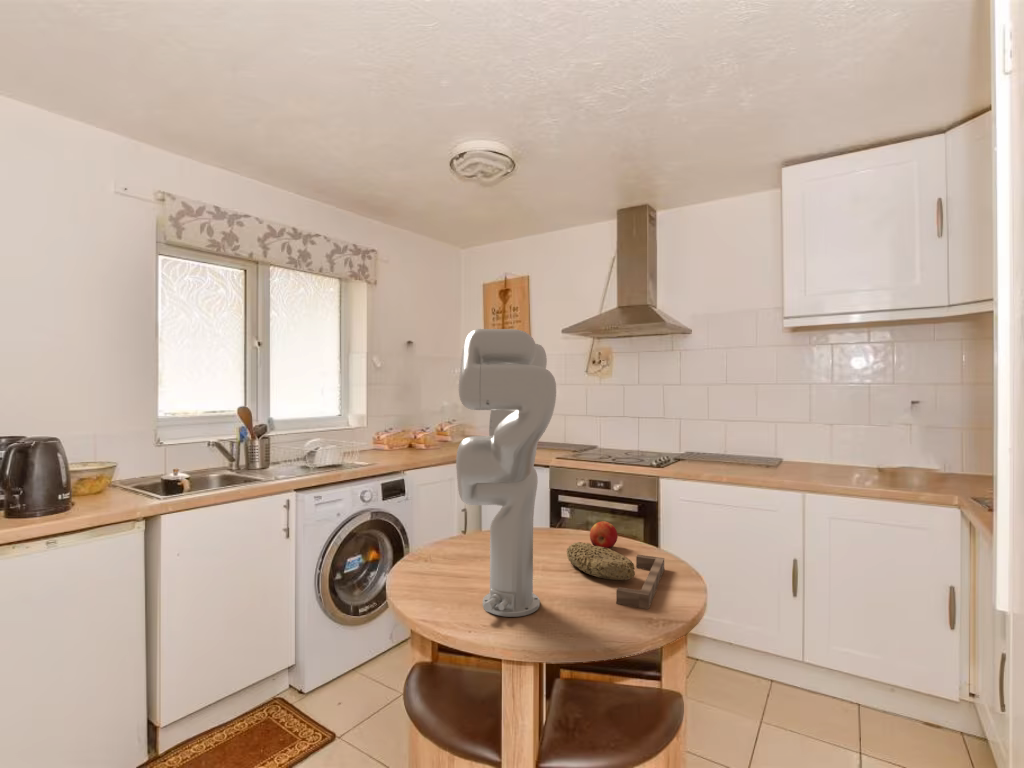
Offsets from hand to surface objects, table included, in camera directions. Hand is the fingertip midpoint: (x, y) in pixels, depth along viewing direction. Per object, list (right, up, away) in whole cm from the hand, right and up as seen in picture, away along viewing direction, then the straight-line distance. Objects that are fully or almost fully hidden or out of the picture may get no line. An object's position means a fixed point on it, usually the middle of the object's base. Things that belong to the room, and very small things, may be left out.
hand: (508, 466), depth 135 cm
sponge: (+24, -28, -3) cm, 37 cm away
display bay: (+33, -27, -11) cm, 44 cm away
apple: (+28, -28, +18) cm, 43 cm away
